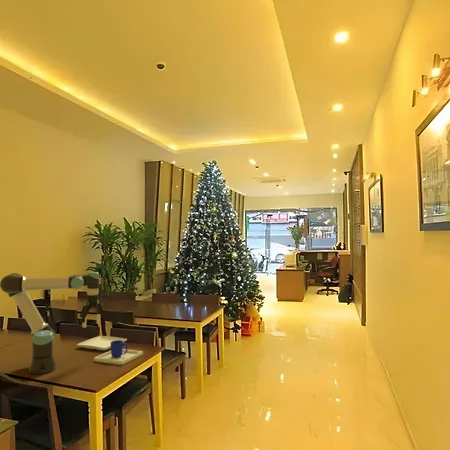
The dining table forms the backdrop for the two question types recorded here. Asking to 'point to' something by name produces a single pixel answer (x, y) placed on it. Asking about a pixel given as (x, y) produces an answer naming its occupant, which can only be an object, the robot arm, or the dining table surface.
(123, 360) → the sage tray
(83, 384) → the dining table surface
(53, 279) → the robot arm
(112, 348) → the mug
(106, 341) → the square plate
